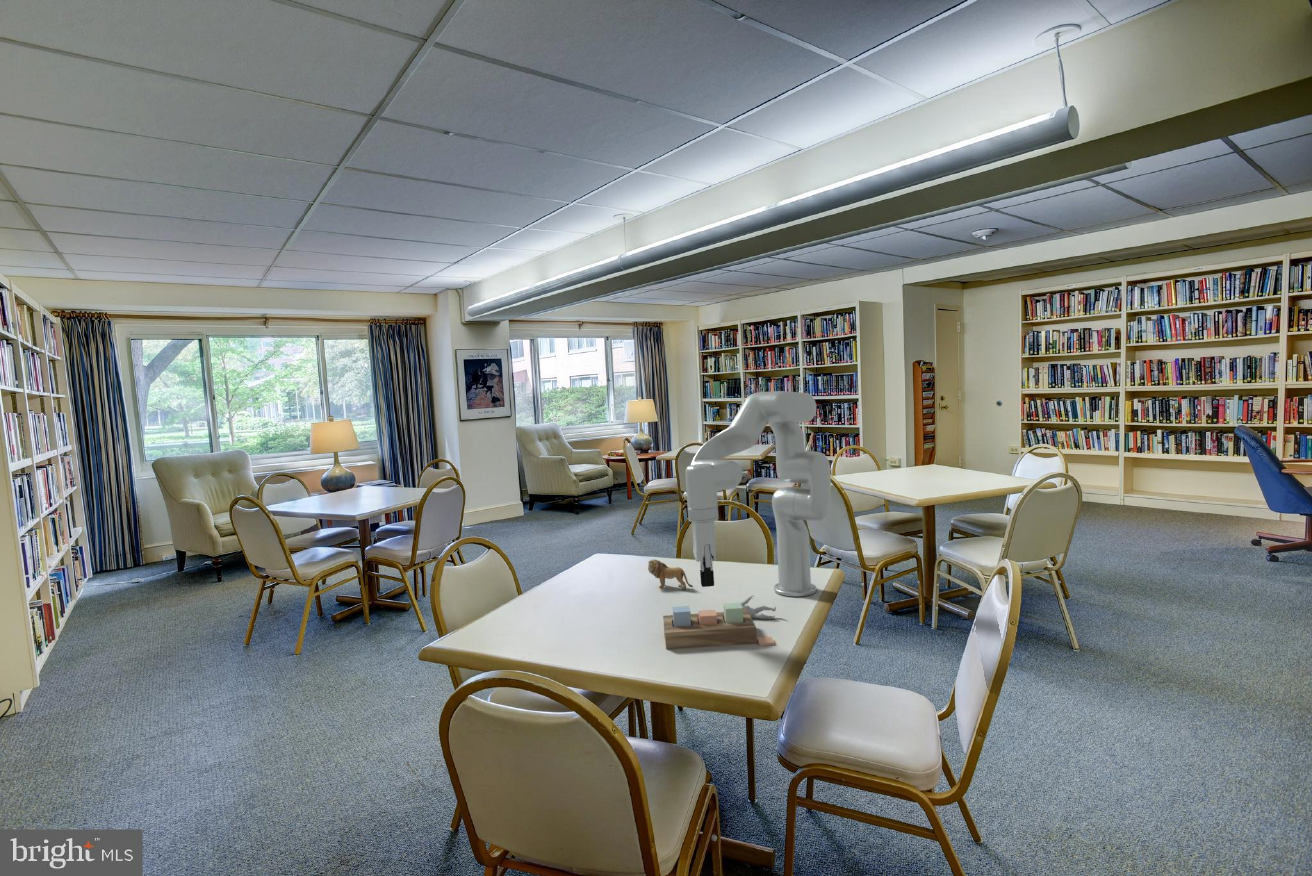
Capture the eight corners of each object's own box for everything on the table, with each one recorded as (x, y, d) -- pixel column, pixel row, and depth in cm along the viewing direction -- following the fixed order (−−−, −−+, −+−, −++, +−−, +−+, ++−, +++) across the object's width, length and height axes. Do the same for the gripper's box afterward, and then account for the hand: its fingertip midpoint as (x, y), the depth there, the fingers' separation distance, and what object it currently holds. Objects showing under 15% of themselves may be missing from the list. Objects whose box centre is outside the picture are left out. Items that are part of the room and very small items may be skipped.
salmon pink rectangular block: (699, 632, 159) (698, 610, 159) (715, 630, 159) (714, 609, 159) (701, 638, 155) (699, 616, 154) (717, 637, 155) (716, 615, 155)
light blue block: (673, 628, 159) (672, 606, 158) (690, 627, 159) (689, 605, 158) (674, 634, 154) (673, 612, 154) (691, 633, 155) (690, 611, 154)
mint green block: (724, 624, 159) (723, 603, 159) (740, 623, 159) (739, 602, 159) (726, 630, 155) (725, 609, 154) (743, 629, 155) (742, 608, 155)
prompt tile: (756, 640, 153) (756, 637, 153) (771, 639, 153) (771, 636, 153) (759, 645, 149) (759, 643, 149) (774, 644, 150) (774, 642, 150)
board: (664, 630, 163) (663, 615, 162) (747, 625, 163) (747, 610, 163) (666, 648, 151) (665, 632, 150) (756, 643, 151) (755, 626, 151)
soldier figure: (773, 627, 163) (728, 614, 165) (769, 634, 167) (725, 621, 168) (777, 601, 168) (734, 588, 169) (773, 608, 172) (730, 595, 173)
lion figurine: (646, 589, 200) (645, 561, 199) (651, 584, 205) (650, 557, 204) (691, 591, 195) (689, 562, 195) (695, 585, 200) (693, 558, 200)
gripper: (685, 509, 163) (690, 578, 164) (690, 521, 148) (695, 596, 149) (714, 507, 163) (718, 575, 165) (722, 518, 148) (726, 594, 150)
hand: (707, 585), depth 157 cm, fingers closed
